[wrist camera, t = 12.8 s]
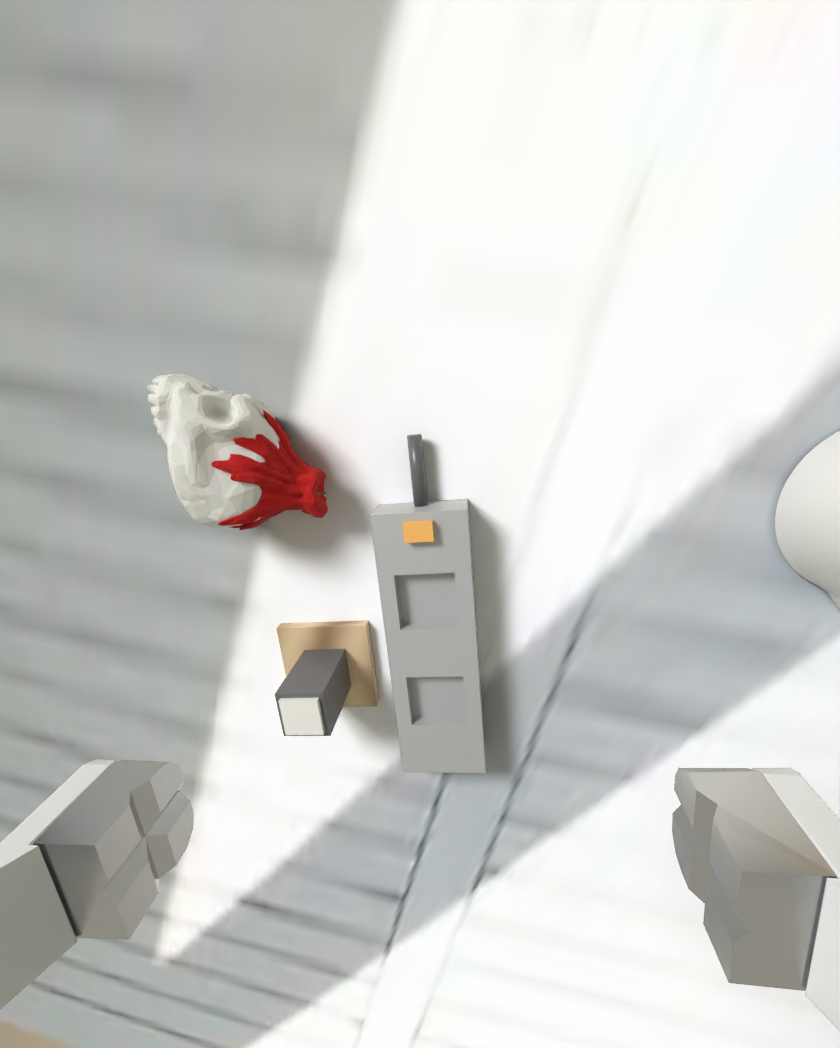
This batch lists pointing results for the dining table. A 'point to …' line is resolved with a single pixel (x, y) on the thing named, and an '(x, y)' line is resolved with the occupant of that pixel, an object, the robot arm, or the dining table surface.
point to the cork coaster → (335, 637)
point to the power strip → (431, 627)
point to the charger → (314, 693)
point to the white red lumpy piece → (230, 455)
